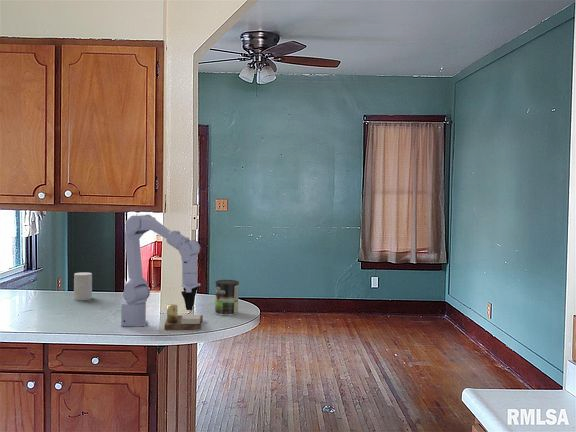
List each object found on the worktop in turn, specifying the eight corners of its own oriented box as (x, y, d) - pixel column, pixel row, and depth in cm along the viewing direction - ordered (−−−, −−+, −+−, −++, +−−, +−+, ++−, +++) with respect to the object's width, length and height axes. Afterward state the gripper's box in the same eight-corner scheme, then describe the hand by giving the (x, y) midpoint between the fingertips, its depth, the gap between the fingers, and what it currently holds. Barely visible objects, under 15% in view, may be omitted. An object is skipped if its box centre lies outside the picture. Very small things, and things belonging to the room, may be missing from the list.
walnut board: (164, 329, 239) (164, 324, 239) (168, 320, 255) (168, 315, 255) (200, 329, 240) (200, 324, 240) (202, 320, 256) (202, 315, 256)
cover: (181, 323, 240) (181, 318, 240) (182, 319, 247) (182, 314, 247) (199, 323, 241) (199, 318, 241) (200, 319, 248) (200, 314, 248)
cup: (70, 299, 293) (70, 274, 292) (81, 296, 301) (80, 271, 300) (85, 300, 290) (85, 275, 290) (95, 297, 298) (95, 273, 297)
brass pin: (166, 322, 242) (166, 306, 242) (167, 320, 246) (167, 304, 246) (176, 322, 242) (176, 306, 242) (177, 320, 246) (177, 304, 246)
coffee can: (224, 317, 263) (225, 284, 262) (210, 312, 270) (210, 281, 269) (243, 313, 270) (243, 281, 269) (228, 309, 277) (229, 278, 277)
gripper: (199, 275, 227) (199, 311, 228) (201, 269, 241) (201, 304, 242) (180, 275, 226) (180, 312, 227) (183, 269, 241) (183, 304, 242)
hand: (189, 307), depth 235 cm, fingers open, 7 cm apart
